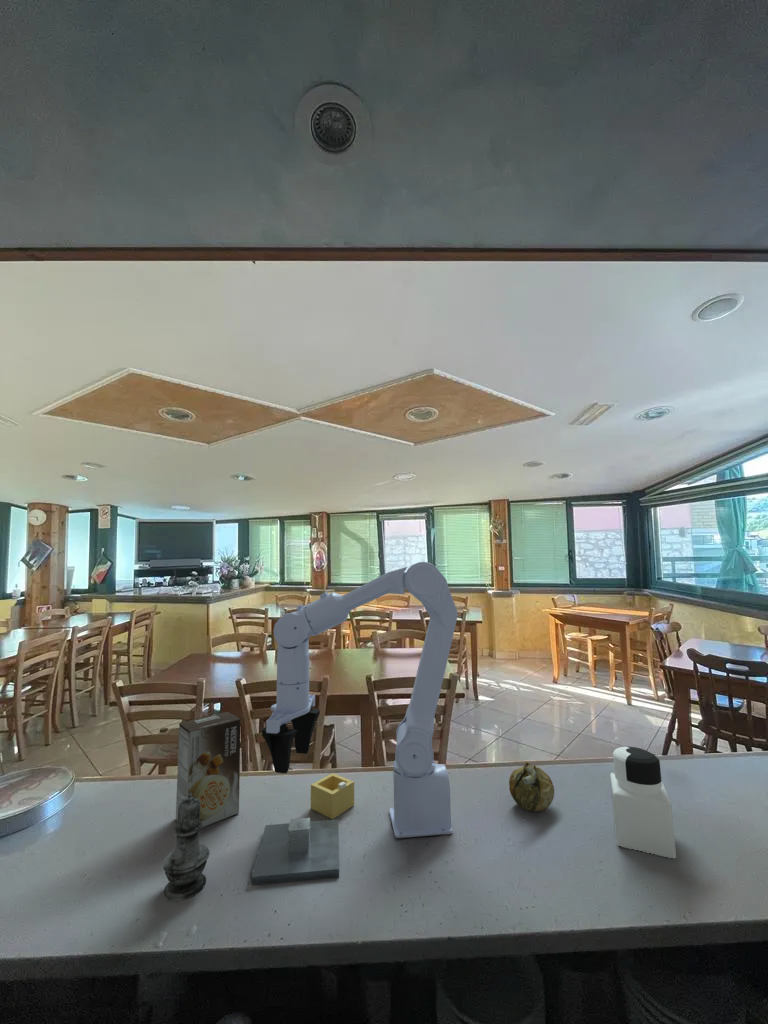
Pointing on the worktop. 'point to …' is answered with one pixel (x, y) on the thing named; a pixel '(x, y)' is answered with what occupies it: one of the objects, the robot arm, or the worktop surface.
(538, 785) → the onion
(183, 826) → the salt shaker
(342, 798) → the yellow square planter
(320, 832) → the grey square base plate
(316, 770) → the worktop surface
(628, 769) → the container
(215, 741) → the coffee box
